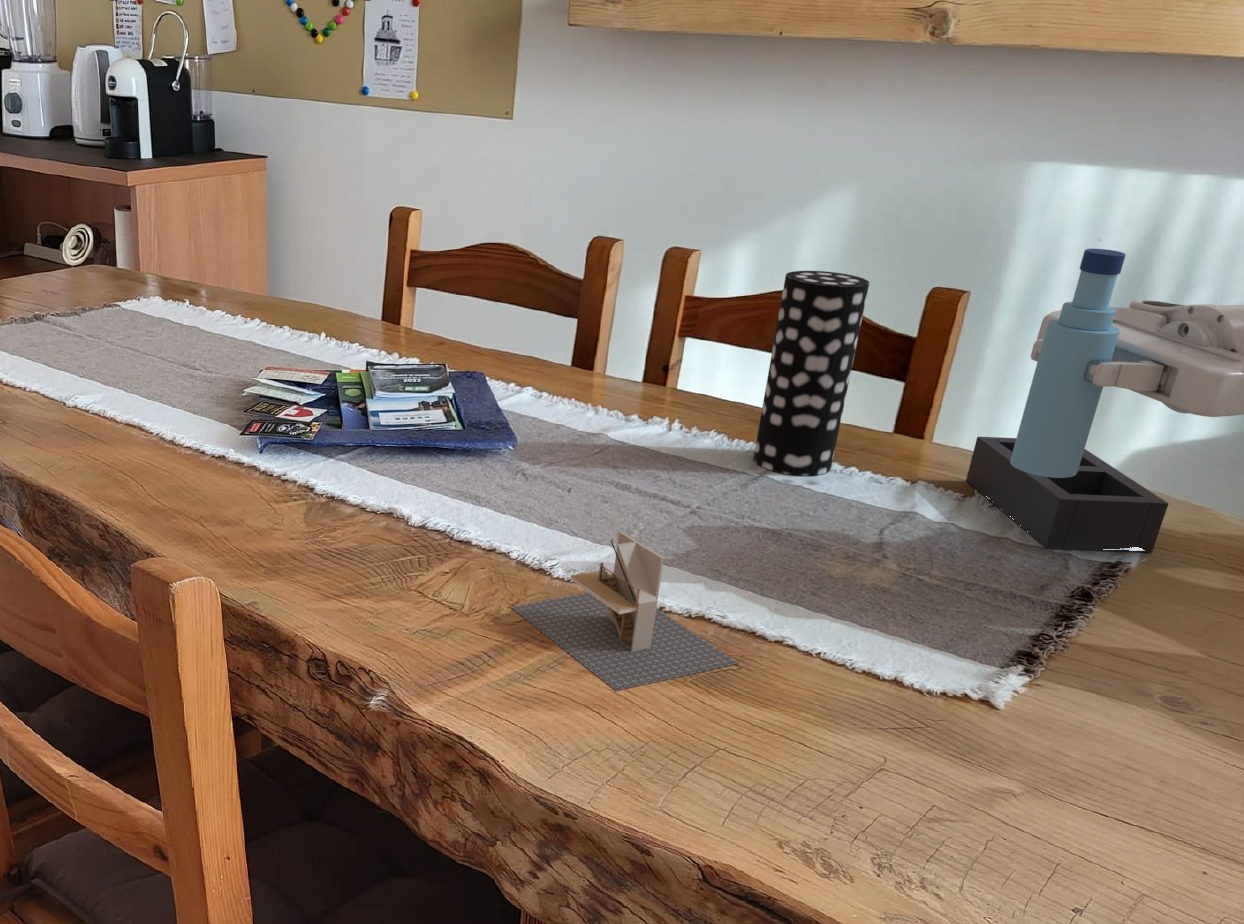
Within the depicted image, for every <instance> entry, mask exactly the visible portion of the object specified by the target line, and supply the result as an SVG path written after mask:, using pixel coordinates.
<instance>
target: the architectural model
mask: <svg viewBox="0 0 1244 924" xmlns="http://www.w3.org/2000/svg"><path fill="white" fill-rule="evenodd" d="M610 543H611V546H612V549H613V551H614V554H615V559H614V568H613V572H612V570H610V569H608V568H607V567H605V565H604V562H603V561H602V562H600V563H599V564H598V565H599V570H594V571H588V572H583V573H577V574H571V575H570V581H572V582H573V583H574V584H576V585H577V586H578V587H580V588H581V589H583V590H584V591H586V592H582V593H577V594H572V595H567V596H560V597H556V598H550V599H545V600H540V601H533V602H529V603H528V602H527V603H523V604H517V605H511V606H510V608H511V609H513V611H515V612H516V613H517V614H518V615H520V616H521V617H522V618H524V619H525V620H526V621H527V622H528V623H530V624H531V625H532V626H533V627H535V628H536V629H538V630H539V631H540V632H541V633H542V634H543V635H545V636H547V638H549V639H550V640H551V641H553V642H554V643H555V644H557V645H558V646H559V647H560V648H561V649H562V650H564V651H565V652H567V653H568V654H569V655H570V656H572V657H573V658H574V659H575V660H577V661H578V662H579V663H581V665H583V666H585V668H587V669H588V670H589V671H591V672H592V673H593V674H595V676H597V677H598V678H599V679H601V680H602V681H603V682H605V684H607V685H608V686H610V687H611V688H612V689H613V690H614V691H622V690H625V689H626V690H627V689H630V688H633V687H634V688H635V687H639V686H643V685H647V684H652V683H657V682H661V681H666V680H670V679H675V678H680V677H684V676H689V675H693V674H697V673H702V672H706V671H711V670H715V669H720V668H725V667H729V666H733V665H737V664H739V662H738V661H736V660H735V659H734V658H732V657H731V656H729V655H728V654H726V652H725V653H724V652H723V651H722V650H721V649H719V648H718V647H715V646H714V645H713V644H711V643H710V642H708V641H707V640H706V639H704V638H702V637H701V636H699V635H698V634H696V633H695V632H694V631H692V630H690V629H689V628H687V626H684V625H683V624H681V623H680V622H679V621H677V620H676V619H674V618H673V617H671V616H669V615H668V614H667V613H665V612H664V611H662V610H661V609H659V608H658V607H657V606H658V597H659V592H660V587H661V579H662V574H663V573H662V572H663V566H664V559H665V558H664V556H662V555H660V554H659V553H658V552H655V551H653V550H652V549H650V548H649V547H647V546H645V545H644V544H642V543H640V542H639V541H637V540H636V539H634V538H632V537H631V536H629V535H628V534H626V533H625V532H623V531H619V532H618V537H617V544H616V548H615V544H614V542H613V540H612V539H611V540H610Z"/></svg>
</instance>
